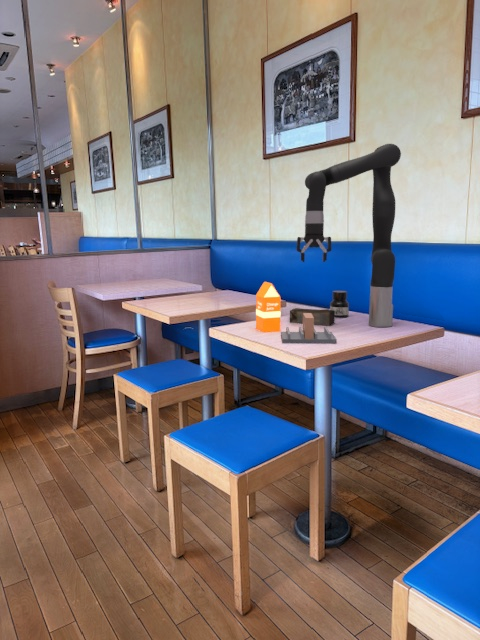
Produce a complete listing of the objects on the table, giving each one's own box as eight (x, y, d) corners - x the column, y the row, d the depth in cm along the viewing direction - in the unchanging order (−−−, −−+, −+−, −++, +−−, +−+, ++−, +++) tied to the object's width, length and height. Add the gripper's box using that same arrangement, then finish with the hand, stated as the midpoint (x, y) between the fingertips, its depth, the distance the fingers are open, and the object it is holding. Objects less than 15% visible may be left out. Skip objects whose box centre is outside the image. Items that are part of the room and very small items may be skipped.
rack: (331, 335, 191) (331, 327, 190) (336, 343, 178) (336, 334, 178) (280, 335, 192) (281, 326, 191) (282, 343, 179) (282, 334, 178)
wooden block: (310, 333, 189) (311, 313, 187) (313, 338, 179) (314, 317, 178) (302, 333, 189) (302, 313, 188) (304, 338, 179) (305, 317, 178)
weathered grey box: (295, 320, 224) (295, 306, 223) (335, 323, 216) (335, 309, 215) (289, 323, 217) (289, 308, 216) (330, 327, 209) (331, 312, 208)
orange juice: (272, 327, 208) (272, 281, 204) (280, 331, 199) (281, 283, 196) (255, 328, 205) (255, 281, 201) (263, 332, 197) (263, 284, 193)
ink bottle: (327, 317, 229) (328, 292, 227) (329, 314, 238) (330, 290, 235) (348, 318, 227) (349, 293, 225) (349, 315, 235) (350, 290, 233)
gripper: (330, 222, 201) (329, 261, 204) (296, 222, 202) (295, 261, 205) (333, 222, 194) (332, 262, 197) (297, 222, 194) (297, 262, 198)
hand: (313, 262), depth 201 cm, fingers open, 8 cm apart
